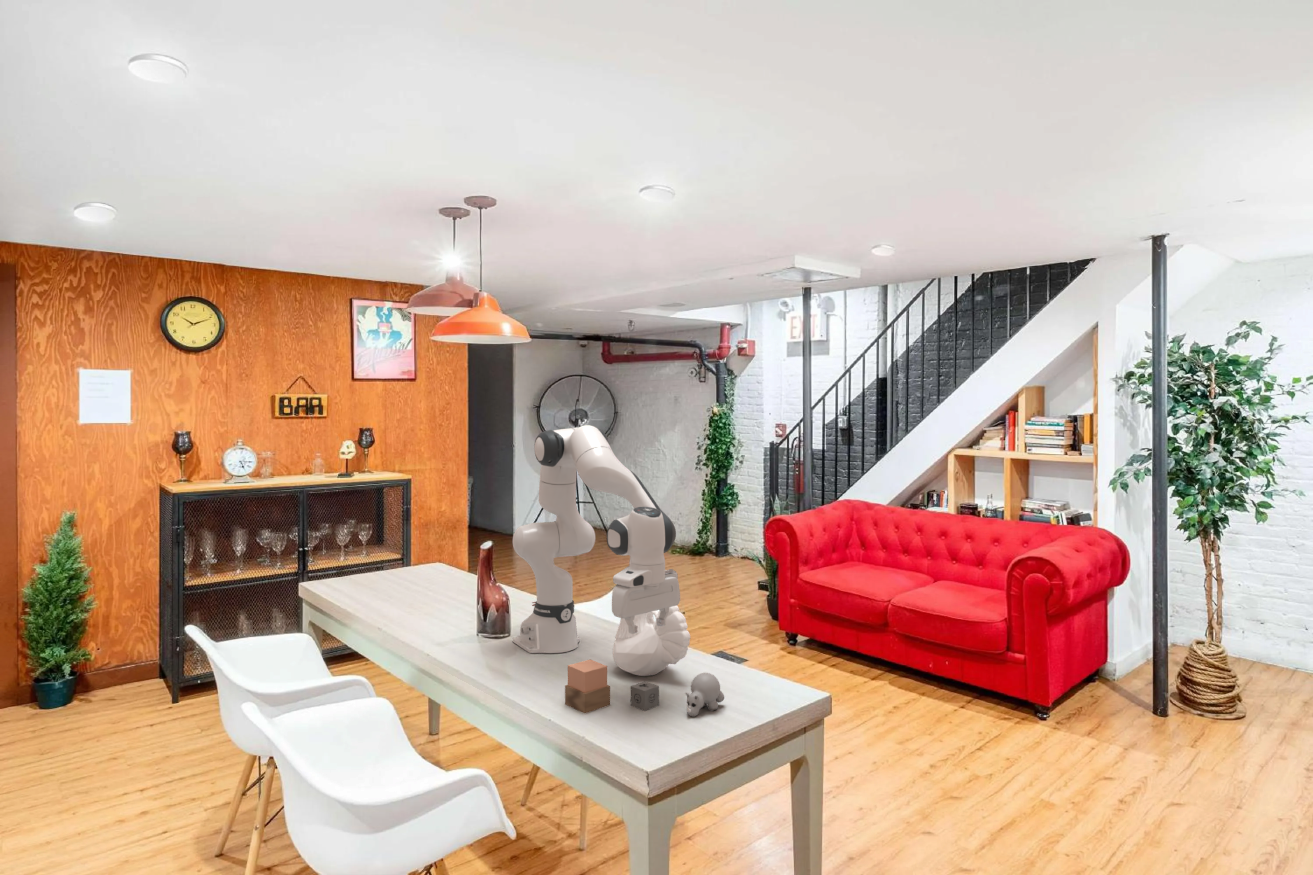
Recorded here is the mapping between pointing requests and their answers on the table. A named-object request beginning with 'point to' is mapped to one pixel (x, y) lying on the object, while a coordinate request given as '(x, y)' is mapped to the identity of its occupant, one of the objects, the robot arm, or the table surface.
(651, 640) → the decorative rooster
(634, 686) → the dice cube
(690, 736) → the table surface
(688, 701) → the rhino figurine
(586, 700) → the walnut base block
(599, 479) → the robot arm
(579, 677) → the terracotta top block
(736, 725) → the table surface
